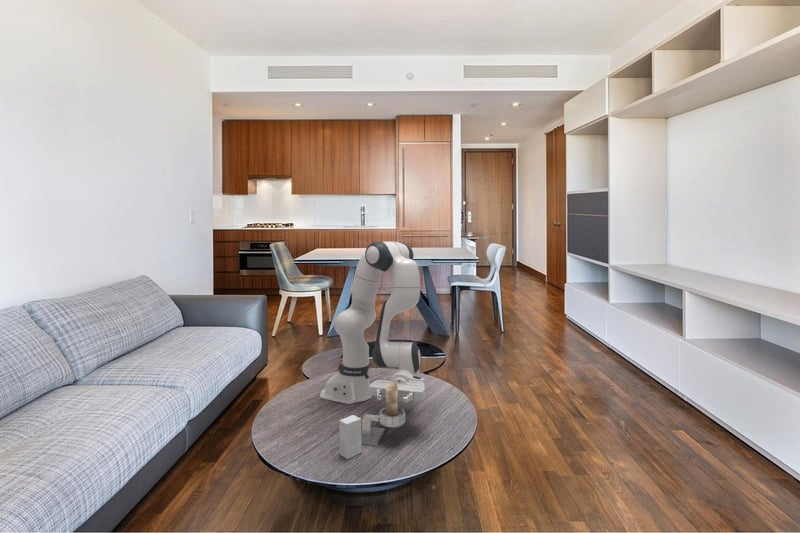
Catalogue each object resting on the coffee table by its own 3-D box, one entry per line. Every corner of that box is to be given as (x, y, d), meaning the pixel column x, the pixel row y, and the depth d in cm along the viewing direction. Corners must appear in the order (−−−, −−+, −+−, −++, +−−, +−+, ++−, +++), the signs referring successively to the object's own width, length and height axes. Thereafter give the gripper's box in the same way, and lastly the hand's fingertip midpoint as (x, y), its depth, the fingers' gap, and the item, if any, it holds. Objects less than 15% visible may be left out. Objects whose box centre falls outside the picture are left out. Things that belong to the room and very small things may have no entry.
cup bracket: (349, 442, 159) (349, 413, 158) (358, 429, 169) (358, 401, 168) (401, 449, 155) (401, 419, 154) (408, 435, 165) (408, 407, 163)
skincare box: (353, 448, 156) (353, 414, 154) (361, 453, 153) (361, 418, 151) (339, 454, 151) (338, 419, 150) (347, 459, 148) (347, 424, 147)
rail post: (385, 420, 158) (384, 386, 157) (388, 415, 162) (387, 382, 161) (396, 421, 158) (395, 387, 156) (399, 416, 161) (398, 383, 160)
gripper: (374, 373, 174) (362, 387, 160) (428, 378, 169) (420, 393, 155) (374, 389, 174) (362, 404, 161) (427, 395, 170) (420, 411, 156)
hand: (391, 398), depth 158 cm, fingers open, 8 cm apart
